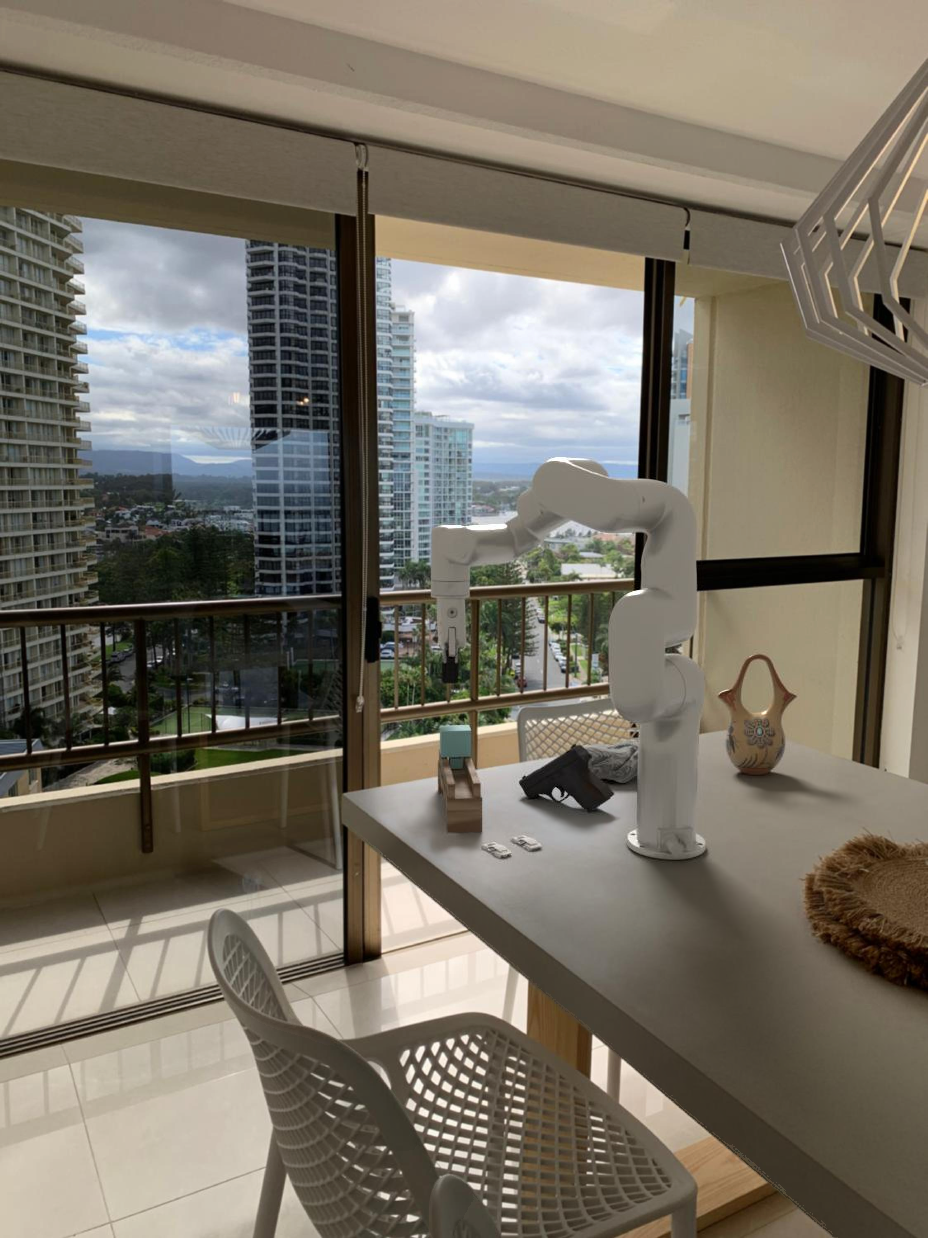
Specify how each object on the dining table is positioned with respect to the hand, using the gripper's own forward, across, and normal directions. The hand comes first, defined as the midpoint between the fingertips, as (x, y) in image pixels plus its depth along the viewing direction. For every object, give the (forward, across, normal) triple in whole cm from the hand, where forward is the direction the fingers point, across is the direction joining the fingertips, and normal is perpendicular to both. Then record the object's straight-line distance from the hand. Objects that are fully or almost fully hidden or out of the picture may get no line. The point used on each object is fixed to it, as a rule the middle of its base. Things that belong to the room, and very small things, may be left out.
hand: (449, 682), depth 180 cm
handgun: (+21, -14, -20) cm, 32 cm away
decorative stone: (+21, +3, -34) cm, 40 cm away
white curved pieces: (+21, -34, -8) cm, 41 cm away
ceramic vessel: (+20, +1, -64) cm, 67 cm away
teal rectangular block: (+15, -9, 0) cm, 17 cm away
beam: (+21, -15, 0) cm, 25 cm away
